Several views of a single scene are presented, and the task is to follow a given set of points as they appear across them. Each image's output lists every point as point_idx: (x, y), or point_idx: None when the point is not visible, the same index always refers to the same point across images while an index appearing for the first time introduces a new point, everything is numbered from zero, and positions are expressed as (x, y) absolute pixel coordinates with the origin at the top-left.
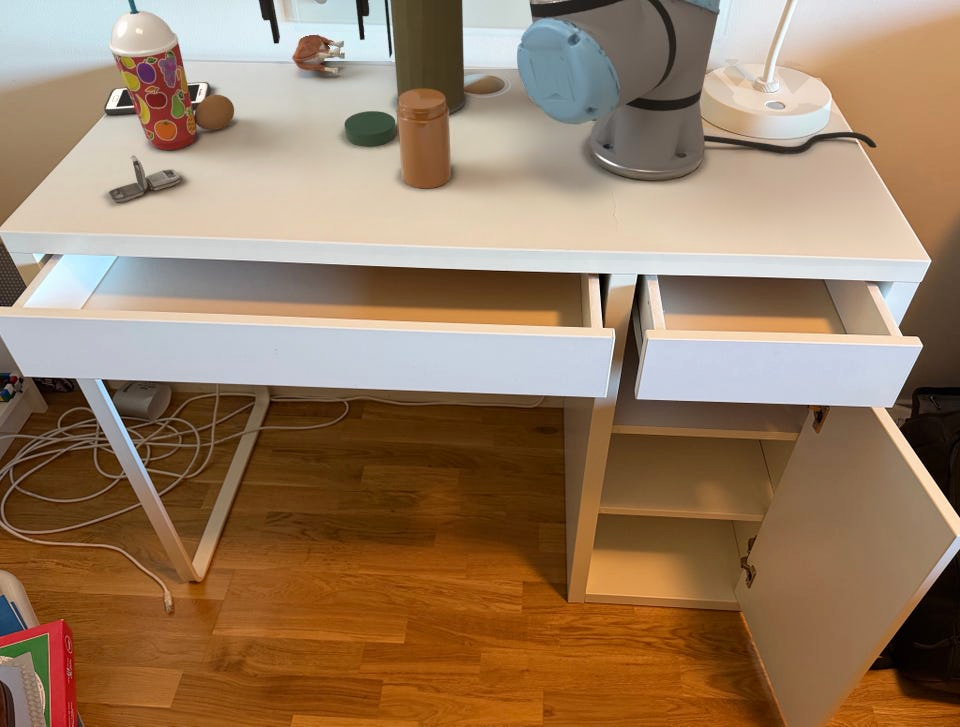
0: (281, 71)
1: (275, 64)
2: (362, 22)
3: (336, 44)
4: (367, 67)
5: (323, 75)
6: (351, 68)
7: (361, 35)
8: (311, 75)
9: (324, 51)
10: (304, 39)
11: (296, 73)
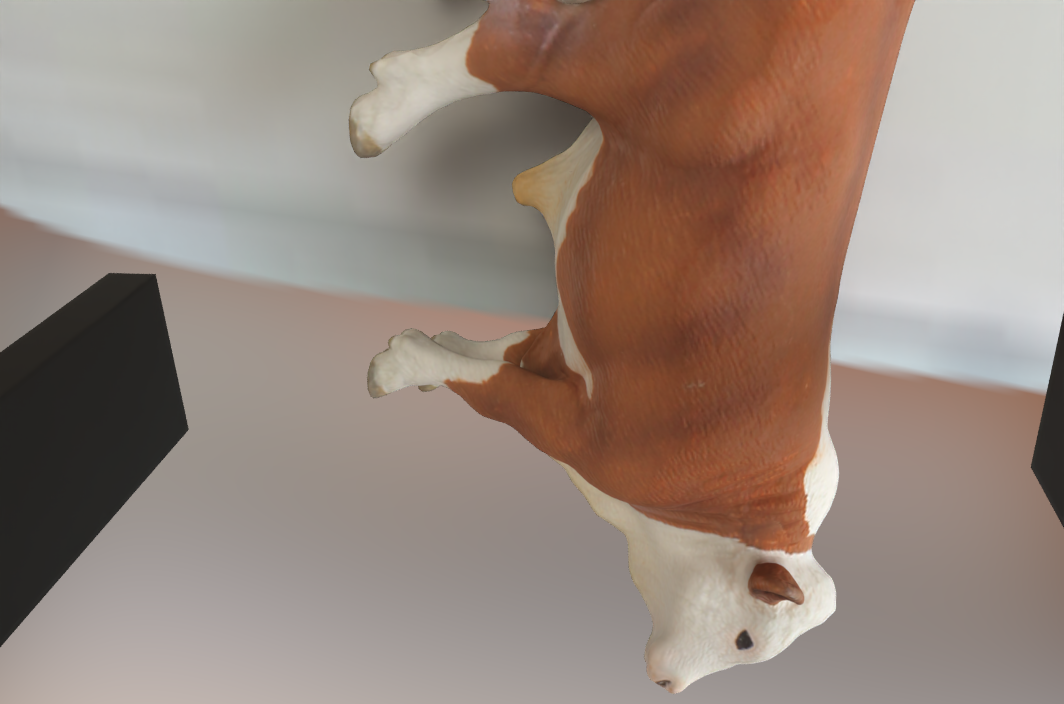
0: (1009, 164)
1: (1051, 327)
2: (6, 353)
3: (439, 352)
4: (216, 153)
5: None
6: (352, 149)
7: (111, 289)
8: None
9: (513, 24)
10: (753, 342)
11: None
